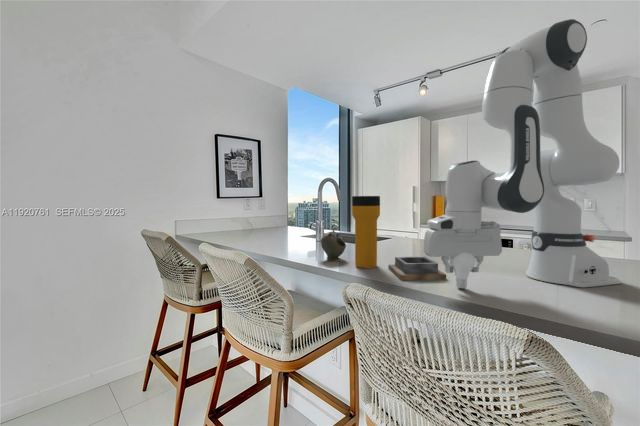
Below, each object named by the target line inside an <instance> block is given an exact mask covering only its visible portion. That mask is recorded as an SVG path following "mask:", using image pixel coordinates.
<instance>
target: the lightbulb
mask: <svg viewBox="0 0 640 426" xmlns="http://www.w3.org/2000/svg"><path fill="white" fill-rule="evenodd" d="M475 260H476V259H475V258H474V256H473V255H472V254H470V253H467V252H465V253H461V254H460V255H458V256H454V257H450V260H449V261H448V263H449V264H450V265H451V266H453V273H454V275H455V282H456V284H455V286H456V287H457V288H458V289H460V290H464V289H466V288H467V287H468V278H469V276H470V273H471V270H472V269H473V267H474V265H475Z"/></svg>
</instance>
